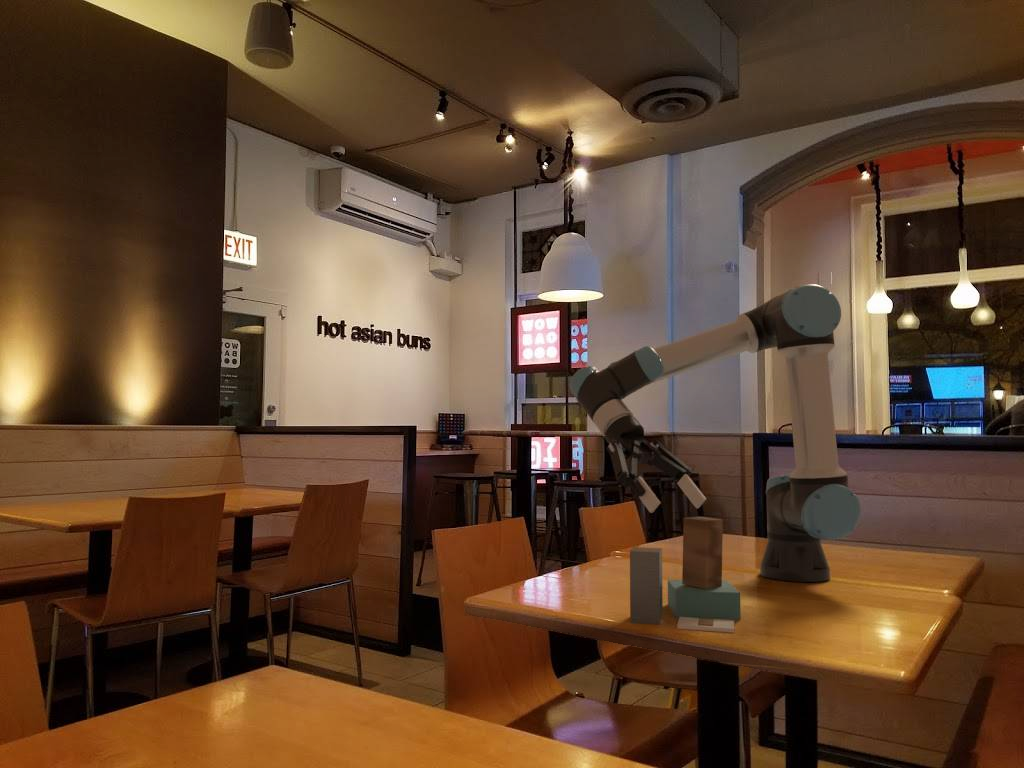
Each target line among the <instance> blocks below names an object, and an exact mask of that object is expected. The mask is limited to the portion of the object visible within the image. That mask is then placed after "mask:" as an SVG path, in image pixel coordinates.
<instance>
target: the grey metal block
mask: <svg viewBox="0 0 1024 768" xmlns="http://www.w3.org/2000/svg"><path fill="white" fill-rule="evenodd" d="M629 602H630V603H629V605H630V606H629V608H630V609H629V611H630V612H629V613H630V614H629V615H630V616H629V618H630V619H629V621H630V623H633V624H648V625H661V623H662V620H663V616H664V613H663V611H664V610H663V606H664V605H663V604H664V603H663V602H664V601H663V548H662V547H661V548H659V547H640V546H639V547H636V546H633V548H631V550H630V551H629Z"/></svg>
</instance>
